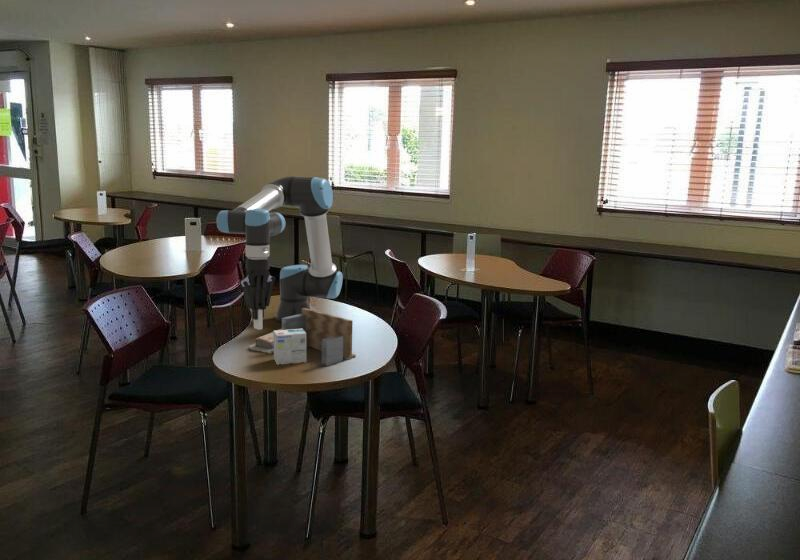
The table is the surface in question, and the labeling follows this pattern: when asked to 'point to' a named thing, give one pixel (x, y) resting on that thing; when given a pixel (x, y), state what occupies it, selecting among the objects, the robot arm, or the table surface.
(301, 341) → the light bulb box
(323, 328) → the rack
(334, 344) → the bookend
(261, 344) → the packaged product
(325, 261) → the robot arm
